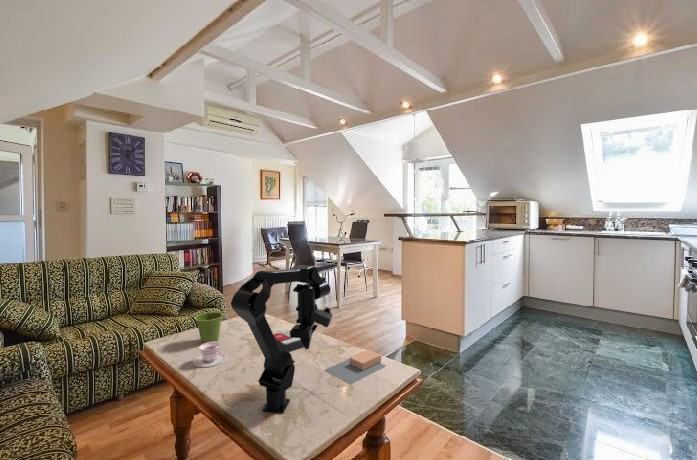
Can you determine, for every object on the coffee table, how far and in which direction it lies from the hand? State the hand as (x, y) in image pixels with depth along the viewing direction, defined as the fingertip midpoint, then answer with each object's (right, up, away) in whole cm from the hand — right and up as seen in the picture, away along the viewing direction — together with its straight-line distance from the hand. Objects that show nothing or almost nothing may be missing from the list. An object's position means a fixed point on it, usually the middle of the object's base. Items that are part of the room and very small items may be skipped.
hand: (307, 348), depth 115 cm
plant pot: (-48, -10, +39) cm, 63 cm away
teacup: (-40, -12, +19) cm, 46 cm away
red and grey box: (-13, -10, +34) cm, 38 cm away
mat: (+16, -11, +11) cm, 22 cm away
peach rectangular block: (+16, -9, +11) cm, 22 cm away
